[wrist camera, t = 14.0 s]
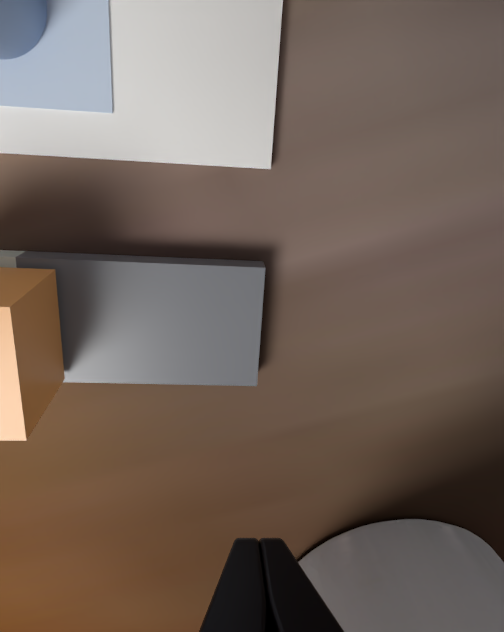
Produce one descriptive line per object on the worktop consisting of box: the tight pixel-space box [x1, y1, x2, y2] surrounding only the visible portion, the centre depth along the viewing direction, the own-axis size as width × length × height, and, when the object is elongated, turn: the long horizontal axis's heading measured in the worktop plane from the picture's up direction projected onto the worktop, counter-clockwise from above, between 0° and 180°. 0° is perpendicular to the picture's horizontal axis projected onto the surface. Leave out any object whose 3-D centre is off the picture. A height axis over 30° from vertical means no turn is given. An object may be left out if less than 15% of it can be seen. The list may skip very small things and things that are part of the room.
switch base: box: [0, 250, 265, 386], centre depth 18 cm, size 14×5×3 cm, turn 87°
